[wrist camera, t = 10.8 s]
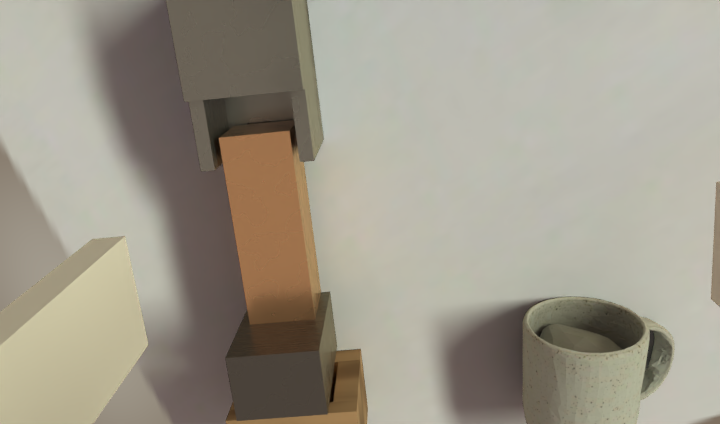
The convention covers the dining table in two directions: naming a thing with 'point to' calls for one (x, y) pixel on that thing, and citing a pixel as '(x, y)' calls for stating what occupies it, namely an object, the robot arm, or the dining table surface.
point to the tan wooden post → (276, 279)
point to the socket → (349, 396)
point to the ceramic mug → (589, 362)
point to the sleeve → (246, 69)
